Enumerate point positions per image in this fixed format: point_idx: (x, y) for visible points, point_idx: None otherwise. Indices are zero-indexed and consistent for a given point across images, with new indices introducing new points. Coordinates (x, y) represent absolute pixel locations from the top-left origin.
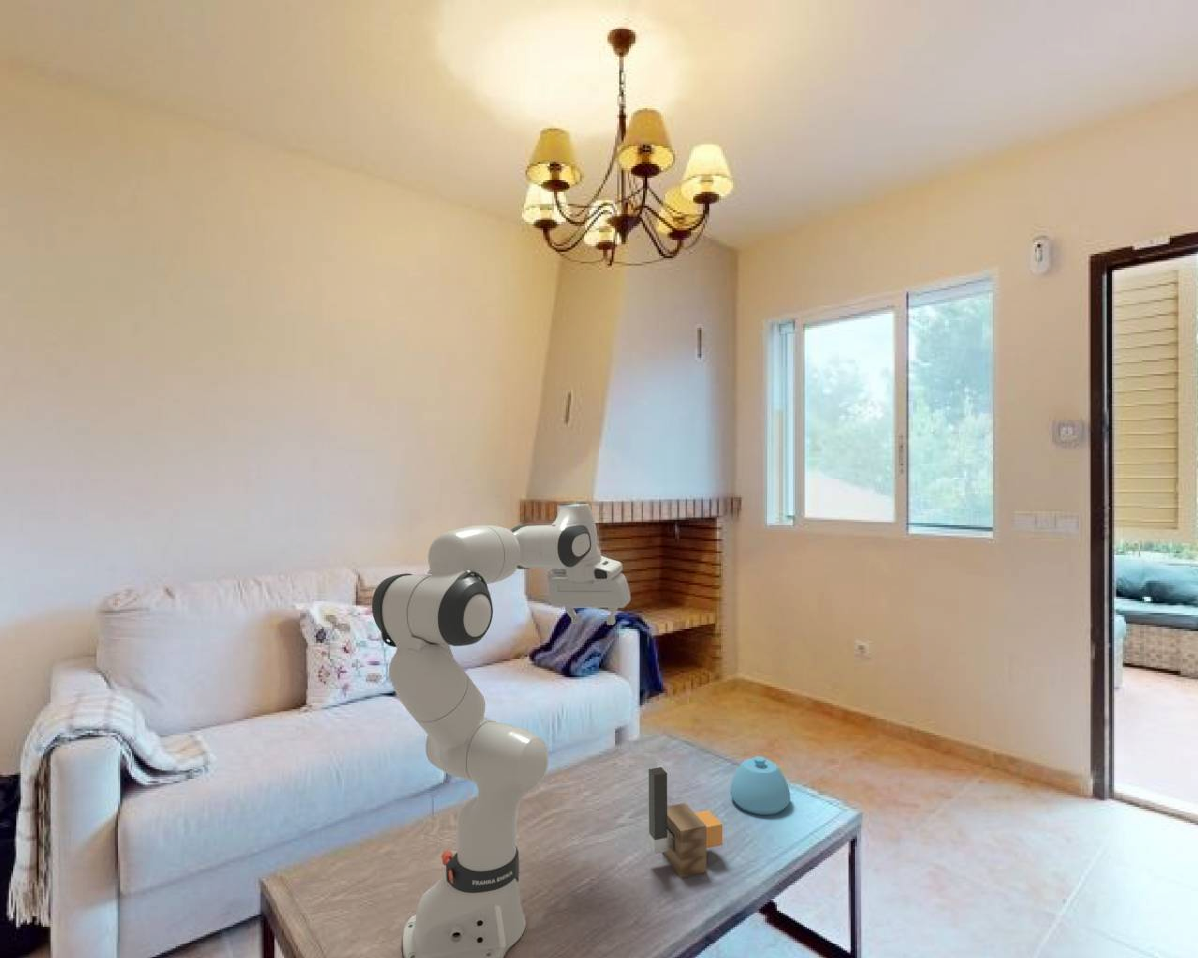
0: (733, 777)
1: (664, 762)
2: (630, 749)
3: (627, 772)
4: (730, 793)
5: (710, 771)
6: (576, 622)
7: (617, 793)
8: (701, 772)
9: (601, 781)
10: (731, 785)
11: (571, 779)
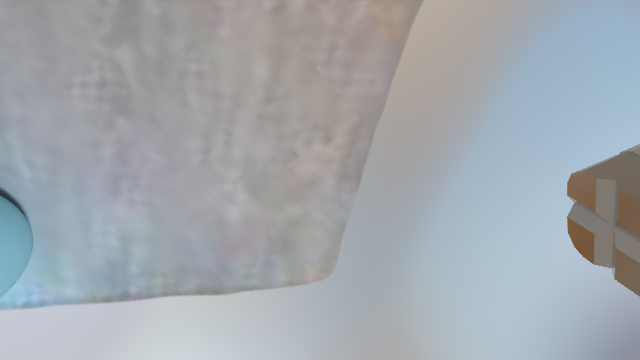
0: (3, 233)
1: (242, 210)
2: (336, 202)
3: (280, 130)
4: (7, 201)
5: (139, 246)
6: (594, 169)
7: (236, 45)
8: (151, 232)
9: (303, 61)
10: (3, 215)
11: (367, 21)
